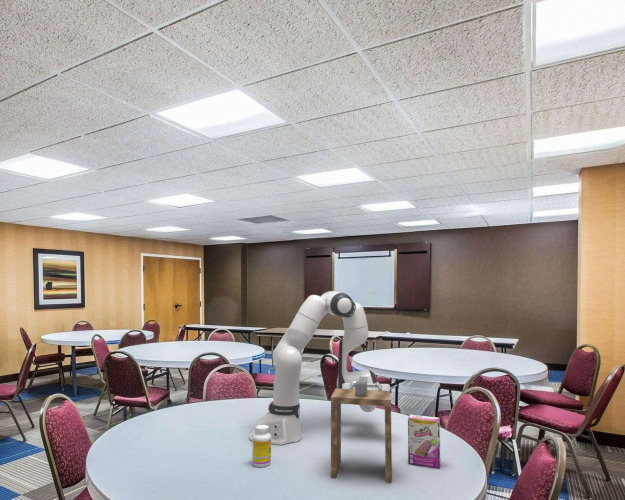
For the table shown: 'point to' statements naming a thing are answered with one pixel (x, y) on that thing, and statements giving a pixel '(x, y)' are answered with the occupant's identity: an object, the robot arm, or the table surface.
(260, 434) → the supplement bottle
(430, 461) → the candy bar box
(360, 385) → the bar
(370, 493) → the table surface
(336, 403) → the wooden side table
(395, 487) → the table surface
